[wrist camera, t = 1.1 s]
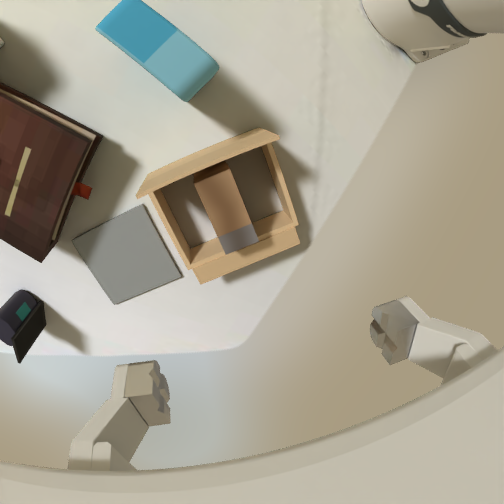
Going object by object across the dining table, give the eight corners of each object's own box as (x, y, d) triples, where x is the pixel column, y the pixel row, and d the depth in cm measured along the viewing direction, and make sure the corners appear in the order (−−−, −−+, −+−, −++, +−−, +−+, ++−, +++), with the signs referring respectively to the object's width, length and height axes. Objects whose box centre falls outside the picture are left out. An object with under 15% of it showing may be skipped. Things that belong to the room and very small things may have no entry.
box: (222, 155, 38) (230, 168, 31) (247, 216, 43) (259, 241, 35) (193, 168, 38) (193, 184, 31) (219, 227, 43) (225, 254, 36)
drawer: (259, 127, 37) (278, 135, 29) (293, 227, 45) (317, 259, 36) (148, 174, 37) (135, 195, 29) (195, 267, 45) (197, 307, 36)
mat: (142, 203, 39) (142, 204, 38) (181, 275, 45) (181, 276, 44) (73, 239, 39) (71, 241, 39) (114, 302, 45) (113, 304, 44)
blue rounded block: (213, 77, 33) (222, 65, 23) (187, 102, 34) (184, 102, 24) (144, 20, 28) (126, -11, 17) (119, 46, 29) (89, 25, 18)
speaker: (52, 304, 43) (25, 345, 33) (46, 325, 44) (21, 365, 35) (17, 280, 40) (-14, 317, 31) (13, 302, 42) (-15, 339, 33)
